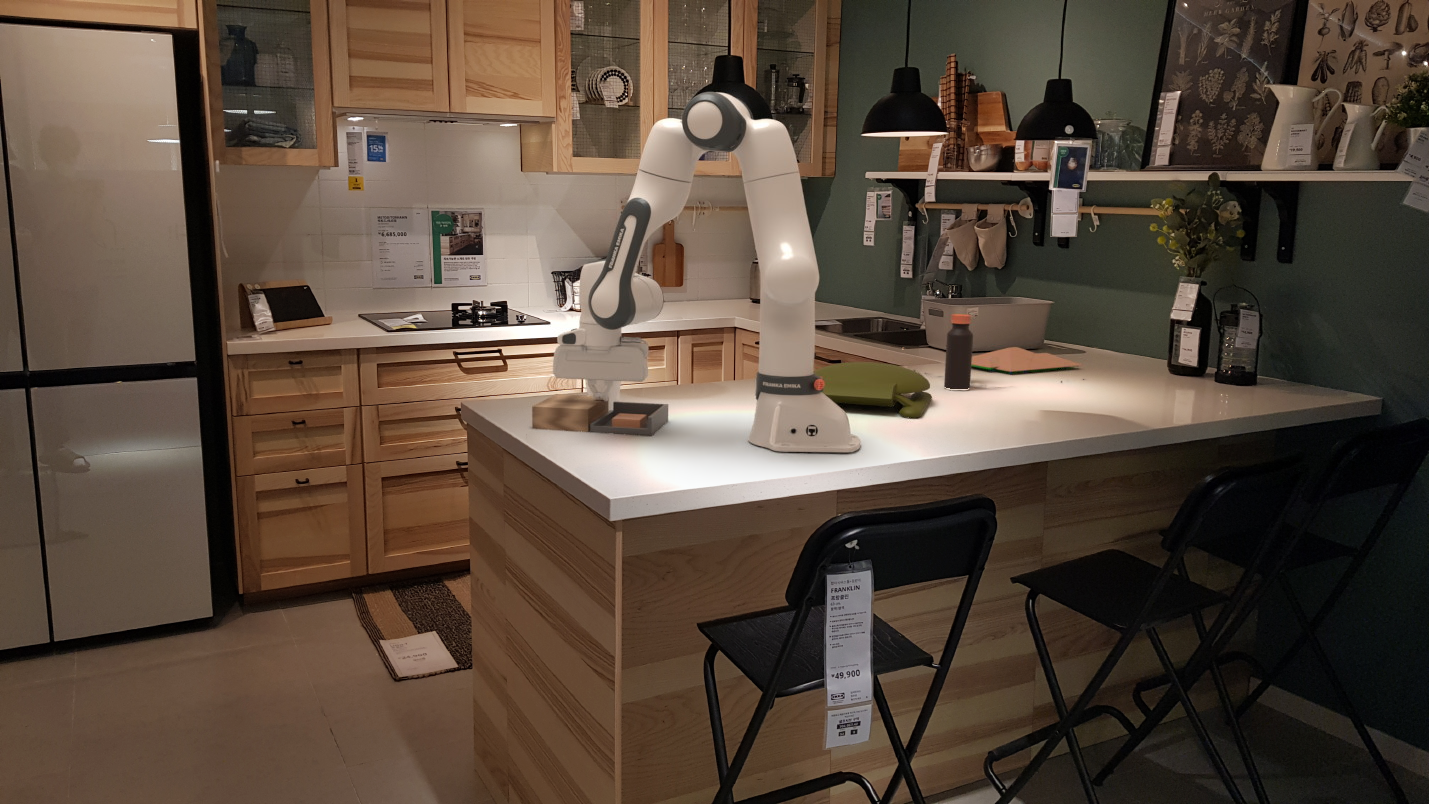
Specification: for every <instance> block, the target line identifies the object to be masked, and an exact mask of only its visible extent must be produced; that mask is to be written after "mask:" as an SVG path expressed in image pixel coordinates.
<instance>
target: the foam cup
mask: <svg viewBox="0 0 1429 804" xmlns="http://www.w3.org/2000/svg"><path fill="white" fill-rule="evenodd" d="M621 383H622V381H613V386H612V388H611V389H610V391H609V392H608V397H609V411H610V410H613V402H614V401H616V402H620V401H619V400H620V391H621ZM585 386H586V393H587V394H586V396H593V393H592V391H591V390H590V388H589V386H588V380H585ZM595 386H596V388H597V390H598V392H604V391H605V389H606V387H607V386H606V385H605V380H597V383H596V384H595Z"/></svg>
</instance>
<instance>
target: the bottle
mask: <svg viewBox="0 0 1429 804" xmlns="http://www.w3.org/2000/svg"><path fill="white" fill-rule="evenodd" d="M971 318H972V316H971V314H963V313H955V314H953V313H952V314H951V320H950V322H951V325H952V327H951V329H949V331H948V332H947V333H946V351H945V364H944V366H945V367H944V383H943V384H944V385H943V387H946V388H950V389H968V388H970V389H971V377H972V375H971V374H972V366H971V362H972V356H973V344H974V333H973V332H972V331H971V330H970V328H969V327H970V326H971Z"/></svg>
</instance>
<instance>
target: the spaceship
mask: <svg viewBox="0 0 1429 804" xmlns="http://www.w3.org/2000/svg"><path fill="white" fill-rule="evenodd" d="M814 373H815V374H816V375H818V376H820V377H822V378H823V379H824V383H825V385H824V388H823V392H822V393H823V394H825V395H826V396H827V397H828V398H829V399H831V400H832V401H833V402H834V403H835V404H849V405H850V404H851V405H862V406H863V405H864V406H866V405H867V406H878V407H891V408H892V407H894V406H895V405H896V403H897V402H898V403H900V404H902V405H903V406H902V407H901V409H900V410H899V415H900V416H901V417H902V416H903V417H902V418H905V417H909V418H908V419H918V418H920V417H921V416H922V415H923V413H924V412H925V411H926V409H927V406H928V405H929V404H930V402H931V401H932V399H933V395H932V394H930V392H927V391H928V390H930V388H931V383H930V382H929V380H928V379H927V378H926V377H925V376H924V375H923V374H921V373H919V372H917V371H915V370H913V369H910V368H907V367H905V366H904V367H903V366H900V365H895V364H890V363H883V362H874V361H853V362H852V361H850V362H848V361H847V362H842V363H834V364H830V365H827V366H822V367H821V368H818V369H816V370H815V369H814ZM906 394H908V395H909V394H911V395H910V396H909V398H908V397H907V396H905V395H906ZM917 417H918V418H917Z"/></svg>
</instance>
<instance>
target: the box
mask: <svg viewBox="0 0 1429 804" xmlns="http://www.w3.org/2000/svg"><path fill="white" fill-rule="evenodd" d="M619 413H624V414H643V415H647V424H646V425H645V426H643V427H642V428H629V427H612V418H614V417H615V416H616V415H618V414H619ZM667 423H669V403H652V402H649V403H648V402H635V401H618V402H616V401H614V402H613V410H610V411H609V412H607V413H606V414H604V415H603V416H601V417H600V418H598V419H597V420H595V421H594V422H592V423H591V424H590V431H589V432H590V433H594V434H595V433H597V434H609V433H613V434H612V435H624V434H625V435H628V436H642V437H653V436H654V435H655V434H656V433H657V432H659V430H661V428H662V427H664V426H665V425H666V424H667ZM663 425H664V426H663ZM652 435H653V436H652Z"/></svg>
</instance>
